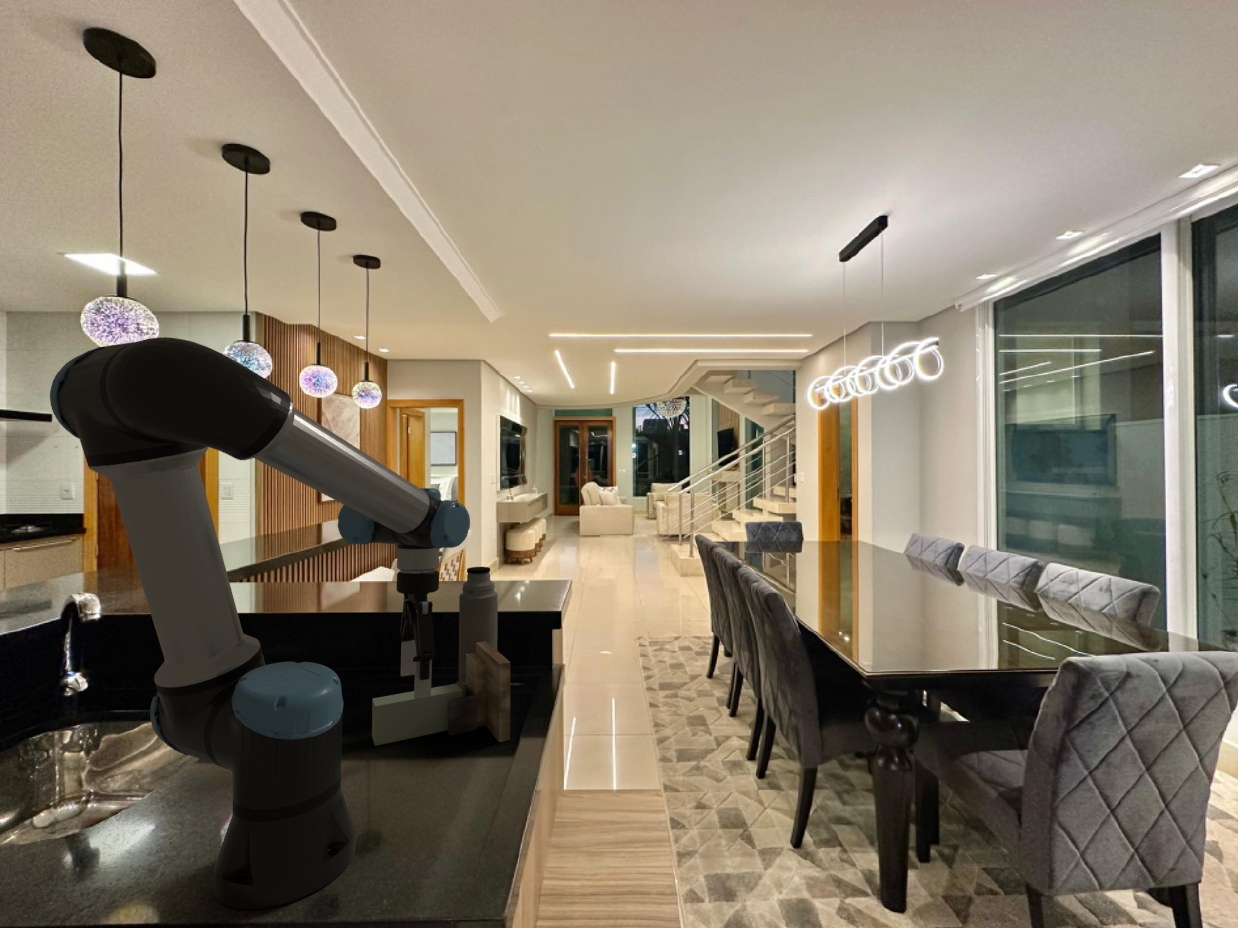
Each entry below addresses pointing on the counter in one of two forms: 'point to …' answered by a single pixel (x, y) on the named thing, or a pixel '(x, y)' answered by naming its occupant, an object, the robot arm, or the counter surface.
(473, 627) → the thermos bottle
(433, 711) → the rectangular block
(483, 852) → the counter surface
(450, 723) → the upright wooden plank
